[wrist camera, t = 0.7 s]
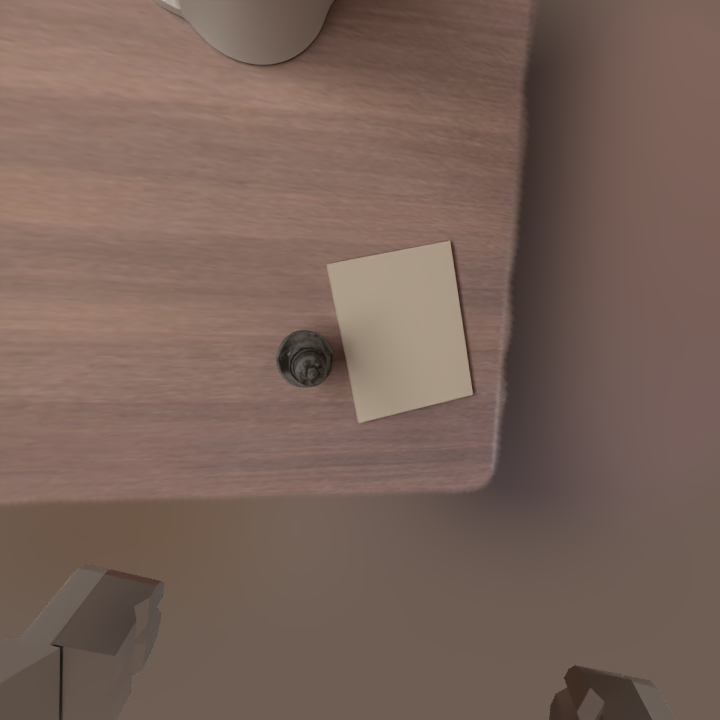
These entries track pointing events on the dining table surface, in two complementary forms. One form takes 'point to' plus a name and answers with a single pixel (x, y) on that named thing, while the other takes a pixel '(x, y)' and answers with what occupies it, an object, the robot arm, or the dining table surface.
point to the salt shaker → (305, 359)
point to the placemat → (401, 329)
